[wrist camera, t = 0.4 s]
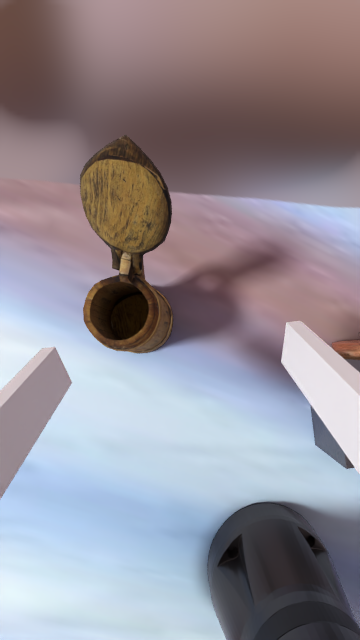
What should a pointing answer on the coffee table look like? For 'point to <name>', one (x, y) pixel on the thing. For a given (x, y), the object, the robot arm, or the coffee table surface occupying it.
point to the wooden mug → (126, 246)
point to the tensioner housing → (355, 355)
